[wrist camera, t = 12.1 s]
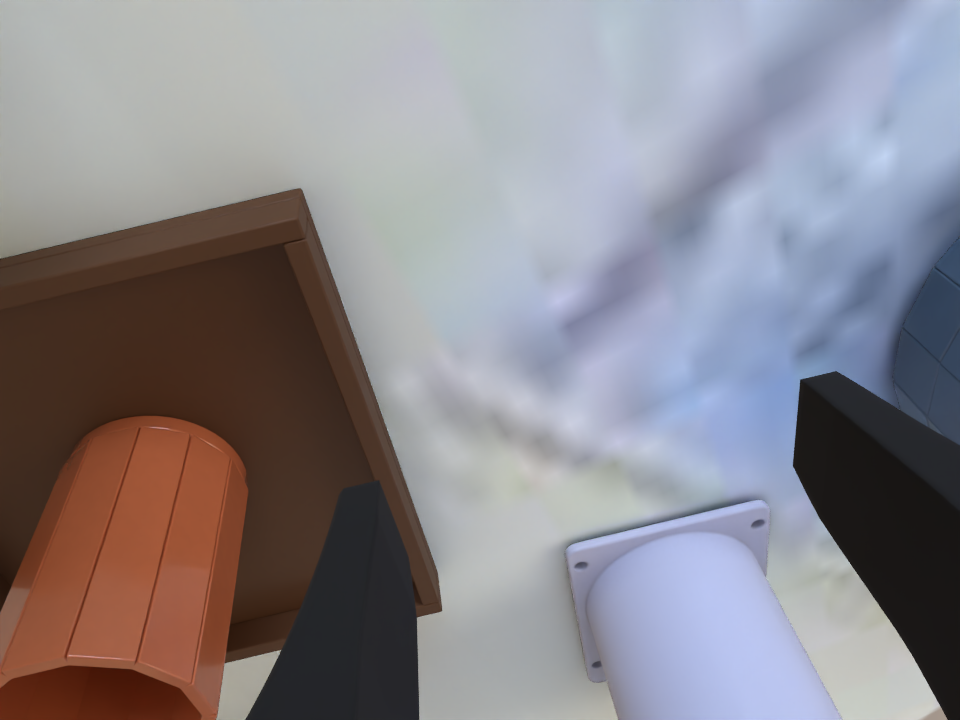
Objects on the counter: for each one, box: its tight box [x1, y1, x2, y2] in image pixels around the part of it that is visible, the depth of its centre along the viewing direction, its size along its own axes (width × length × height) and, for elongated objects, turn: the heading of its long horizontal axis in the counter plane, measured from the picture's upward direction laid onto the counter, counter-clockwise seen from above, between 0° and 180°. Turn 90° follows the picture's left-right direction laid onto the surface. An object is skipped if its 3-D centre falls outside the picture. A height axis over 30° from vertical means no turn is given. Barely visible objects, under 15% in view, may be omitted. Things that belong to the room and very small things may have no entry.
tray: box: [0, 189, 442, 663], centre depth 24 cm, size 16×14×2 cm
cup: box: [0, 415, 248, 720], centre depth 21 cm, size 5×5×8 cm
